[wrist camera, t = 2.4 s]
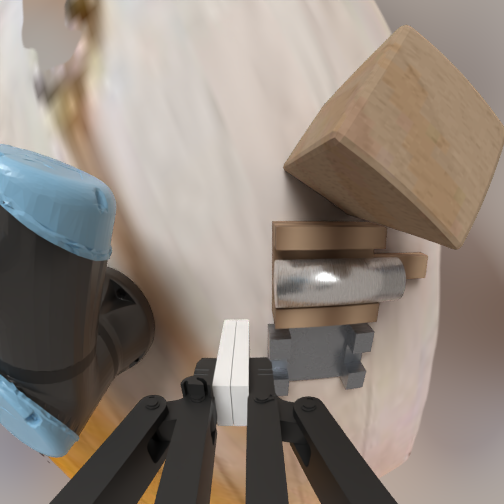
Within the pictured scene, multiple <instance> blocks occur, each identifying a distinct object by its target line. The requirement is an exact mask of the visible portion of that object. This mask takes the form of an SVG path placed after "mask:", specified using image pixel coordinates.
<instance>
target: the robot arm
mask: <svg viewBox="0 0 504 504" xmlns="http://www.w3.org/2000/svg"><path fill="white" fill-rule="evenodd" d="M115 215H116V201H115V197H114V195H113V193H112V191H111V190H110V188H109V187H108V186H107V185H106V184H105V183H103V182H102V181H101V180H99V179H97V178H96V177H94V176H92V175H90V174H88V173H86V172H84V171H82V170H79V169H77V168H75V167H73V166H70V165H68V164H66V163H63V162H61V161H58V160H55V159H53V158H50V157H47V156H44V155H41V154H38V153H35V152H32V151H28V150H25V149H19V148H15V147H12V146H10V145H5V144H0V423H1V424H2V425H3V426H4V427H5V428H6V429H7V430H8V431H9V432H11V433H12V434H13V435H14V436H15V437H17V438H18V439H19V440H20V441H22V442H23V443H25V444H26V445H28V446H29V447H31V448H32V449H34V450H36V451H38V452H40V453H42V454H44V455H47V456H50V457H62V456H64V455H66V454H67V453H68V451H69V450H70V448H71V447H72V446H73V444H74V443H75V442H76V441H78V440H79V435H80V433H81V432H82V430H83V428H84V426H85V425H86V423H87V421H88V420H89V418H90V416H91V415H92V413H93V411H94V410H95V408H96V407H97V405H98V403H99V402H100V400H101V398H102V397H103V395H104V394H105V392H106V390H107V389H108V387H109V386H110V384H111V382H112V381H113V379H114V378H115V376H117V375H119V374H120V373H122V372H124V371H125V370H127V369H128V368H130V367H132V366H134V365H135V364H137V363H138V362H139V361H140V360H141V359H142V358H143V357H144V356H145V354H146V353H147V351H148V349H149V348H150V346H151V344H152V341H153V338H154V319H153V314H152V311H151V308H150V306H149V304H148V302H147V300H146V298H145V296H144V295H143V293H142V292H141V291H140V289H139V288H138V287H137V286H136V285H135V284H134V283H133V282H132V281H131V280H130V279H129V278H128V277H126V276H125V275H124V274H122V273H120V272H119V271H117V270H115V269H112V268H109V267H106V266H107V261H108V259H110V256H111V253H112V247H111V245H110V244H111V237H112V231H113V225H114V220H115ZM181 388H182V393H183V398H182V399H179V400H176V401H169V402H166V400H165V399H164V398H163V397H161V396H157V395H150V396H147V397H144V398H143V399H141V400H140V401H139V403H138V404H137V405H136V406H135V407H134V408H133V410H132V411H131V412H130V413H129V414H128V415H127V416H126V418H125V419H124V420H123V421H122V422H121V423H120V425H119V426H118V427H117V428H116V429H115V430H114V431H113V433H112V434H111V435H110V436H109V437H108V438H107V439H106V441H105V442H104V443H103V444H102V445H101V446H100V447H99V449H98V450H97V451H96V452H95V453H94V454H93V455H92V456H91V458H90V459H89V460H88V461H87V462H86V463H85V464H84V465H83V467H82V468H81V469H80V470H79V471H78V472H77V473H76V474H75V476H74V477H73V478H72V479H71V480H70V481H69V482H68V483H67V485H66V486H65V487H64V488H63V489H62V490H61V491H60V492H59V494H58V495H57V496H56V497H55V498H54V499H53V500H52V501H51V502H50V504H137V503H138V501H139V500H140V498H141V497H142V495H143V494H144V492H145V491H146V489H147V488H148V486H149V485H150V483H151V481H152V480H153V478H154V477H155V475H156V474H157V472H158V470H159V469H160V467H161V466H162V464H163V463H164V461H165V459H166V461H165V464H164V468H163V472H162V476H161V480H160V484H159V487H158V491H157V495H156V499H155V503H154V504H210V494H211V485H212V475H213V466H214V457H215V448H216V439H217V430H216V424H218V426H233V423H234V426H247V449H246V504H289V502H288V492H287V483H286V473H285V464H284V455H283V446H282V441H284V442H290V445H291V447H292V449H293V451H294V453H295V455H296V457H297V459H298V461H299V463H300V465H301V467H302V469H303V471H304V473H305V474H306V476H307V478H308V480H309V482H310V484H311V486H312V488H313V490H314V491H315V493H316V495H317V497H318V499H319V501H320V503H321V504H398V503H397V502H396V501H395V500H394V498H393V497H392V496H391V494H390V493H389V492H388V491H387V489H386V488H385V487H384V486H383V484H382V483H381V481H380V480H379V479H378V478H377V476H376V475H375V474H374V472H373V471H372V470H371V468H370V467H369V466H368V464H367V463H366V462H365V460H364V459H363V458H362V456H361V455H360V453H359V452H358V451H357V449H356V448H355V447H354V445H353V444H352V443H351V441H350V440H349V439H348V437H347V436H346V434H345V433H344V432H343V430H342V429H341V427H340V426H339V425H338V423H337V422H336V421H335V419H334V418H333V416H332V415H331V414H330V412H329V411H328V409H327V408H326V407H325V405H324V404H323V402H322V401H321V400H319V399H317V398H315V397H309V396H308V397H302V398H299V399H298V400H297V401H295V403H294V402H288V401H284V400H282V399H280V398H279V397H278V396H277V395H276V393H275V386H274V378H273V370H272V362H271V361H270V360H269V359H268V358H267V357H265V358H250V343H249V319H244V320H237V322H236V320H224V324H223V330H222V335H221V340H220V346H219V351H218V356H217V358H202V359H201V360H200V361H199V362H198V363H197V365H196V368H195V372H194V375H193V376H190V377H187V378H185V379H184V380H183V381H182V382H181Z"/></svg>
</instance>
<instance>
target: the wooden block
mask: <svg viewBox="0 0 504 504" xmlns="http://www.w3.org/2000/svg"><path fill="white" fill-rule="evenodd" d="M503 145H504V126H503V125H502V123H501V122H500V120H499V119H498V117H497V116H496V115H495V113H494V112H493V111H492V109H491V108H490V107H489V105H488V104H487V103H486V102H485V100H484V99H483V98H482V97H481V95H480V94H479V93H478V92H477V90H476V89H475V88H474V87H473V86H472V85H471V83H470V82H469V81H468V80H467V79H466V78H465V77H464V76H463V75H462V73H461V72H460V71H459V70H458V69H457V68H456V67H455V66H454V65H453V64H452V63H451V62H450V61H449V60H448V59H447V58H446V57H445V56H444V55H443V54H442V53H441V52H440V51H439V50H437V49H436V48H435V47H434V46H433V45H432V44H431V43H430V42H429V41H428V40H426V39H425V38H424V37H423V36H422V35H421V34H419V33H418V32H417V31H416V30H414V29H413V28H412V27H411V26H408V25H404V26H401V27H400V28H398V29H397V30H396V31H395V32H394V33H393V34H392V35H391V36H390V37H389V38H388V39H387V40H386V41H385V42H384V43H383V44H382V45H381V46H380V47H379V48H378V49H377V50H376V51H375V52H374V53H373V54H372V55H371V56H370V57H369V58H368V59H367V60H366V61H365V62H364V63H363V64H362V65H361V66H360V67H359V68H358V69H357V70H356V71H355V72H354V73H353V75H352V76H351V77H350V78H349V79H348V80H347V81H346V82H345V83H344V84H343V85H342V86H341V87H340V88H339V89H338V90H337V91H336V92H335V94H334V95H333V96H332V97H331V98H330V99H329V100H328V101H327V102H326V103H325V104H324V106H323V107H322V109H321V110H320V112H319V113H318V114H317V116H316V117H315V119H314V120H313V122H312V123H311V125H310V126H309V128H308V129H307V131H306V132H305V134H304V135H303V137H302V138H301V140H300V141H299V143H298V144H297V146H296V147H295V149H294V150H293V152H292V153H291V155H290V156H289V158H288V159H287V161H286V162H285V164H284V167H283V168H284V170H285V171H287V172H288V173H290V174H291V175H293V176H294V177H296V178H297V179H299V180H300V181H302V182H303V183H304V184H306V185H307V186H309V187H310V188H312V189H313V190H315V191H316V192H317V193H319V194H320V195H322V196H323V197H325V198H326V199H327V200H329V201H330V202H332V203H333V204H334V205H336V206H337V207H338V208H340V209H341V210H342V211H344V212H345V213H347V214H348V215H351V216H354V217H358V218H361V219H364V220H368V221H371V222H374V223H377V224H381V225H384V226H387V227H390V228H393V229H396V230H400V231H403V232H406V233H409V234H412V235H415V236H418V237H420V238H423V239H426V240H429V241H432V242H435V243H438V244H440V245H443V246H446V247H449V248H451V249H455V250H457V249H459V248H460V247H461V246H462V245H463V243H464V241H465V239H466V237H467V235H468V233H469V231H470V229H471V227H472V225H473V223H474V221H475V219H476V216H477V214H478V212H479V210H480V207H481V205H482V203H483V201H484V198H485V196H486V193H487V191H488V188H489V186H490V183H491V181H492V178H493V175H494V172H495V170H496V167H497V164H498V161H499V158H500V155H501V152H502V148H503Z"/></svg>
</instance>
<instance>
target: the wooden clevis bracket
mask: <svg viewBox="0 0 504 504" xmlns="http://www.w3.org/2000/svg"><path fill="white" fill-rule="evenodd" d="M386 237H387V227H384V226H381V225H378V224H375V223H371V222H354V221H272V313H273V318H274V324H275V329H284V328H305V327H321V326H335V325H347V324H358V323H368V322H377V316H378V309H379V303H378V302H374V303H361V304H348V305H332V306H314V307H292V308H276V307H275V300H274V262H275V260H299V259H343V258H381V257H397V258H399V259H400V260H401V262H402V263H403V266H404V269H405V274H406V279H415V278H425V275H426V268H427V260H428V256H427V255H425V254H423V253H421V252H414V253H374V249H386Z"/></svg>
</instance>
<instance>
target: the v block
mask: <svg viewBox="0 0 504 504" xmlns="http://www.w3.org/2000/svg"><path fill="white" fill-rule="evenodd" d="M373 337H374V331H373V330H372V328H371V327H370V326H369V325H368V324H367V323H358V324H347V325H335V326H321V327H305V328H284V329H275V324H268V359H269V360H270V361H271V362H272V370H273V378H274V386H275V393H276V395H277V396H287V395H288V387H289V381H294V380H308V379H319V378H329V377H337V376H340V378H341V380H342V383H343V385H344V387H345V389H353V388H360V387H362V386H363V382H364V378H365V374H366V370H365V368H364V366H363V365H362V363H361V361H360V360H361V355H362V353H363V352H371V347H372V342H373Z"/></svg>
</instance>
